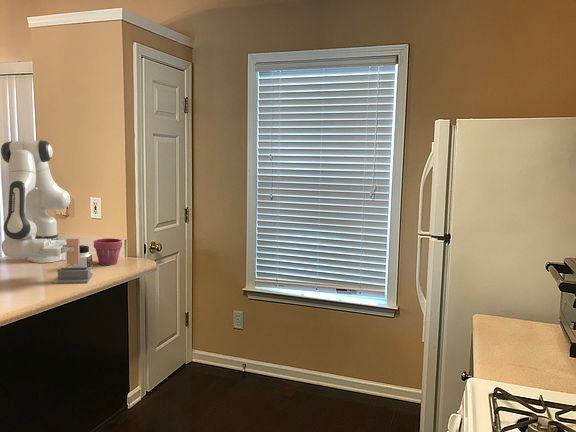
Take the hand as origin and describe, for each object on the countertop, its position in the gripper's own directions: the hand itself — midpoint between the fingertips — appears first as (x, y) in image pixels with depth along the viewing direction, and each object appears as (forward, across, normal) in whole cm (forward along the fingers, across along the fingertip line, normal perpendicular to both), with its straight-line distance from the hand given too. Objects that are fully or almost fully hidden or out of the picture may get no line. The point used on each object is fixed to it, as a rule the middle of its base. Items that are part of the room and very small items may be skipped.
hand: (75, 248), depth 213 cm
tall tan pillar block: (-1, 0, +7) cm, 7 cm away
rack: (-1, 0, +15) cm, 15 cm away
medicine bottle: (-1, +21, +15) cm, 26 cm away
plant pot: (+10, +31, +15) cm, 36 cm away
